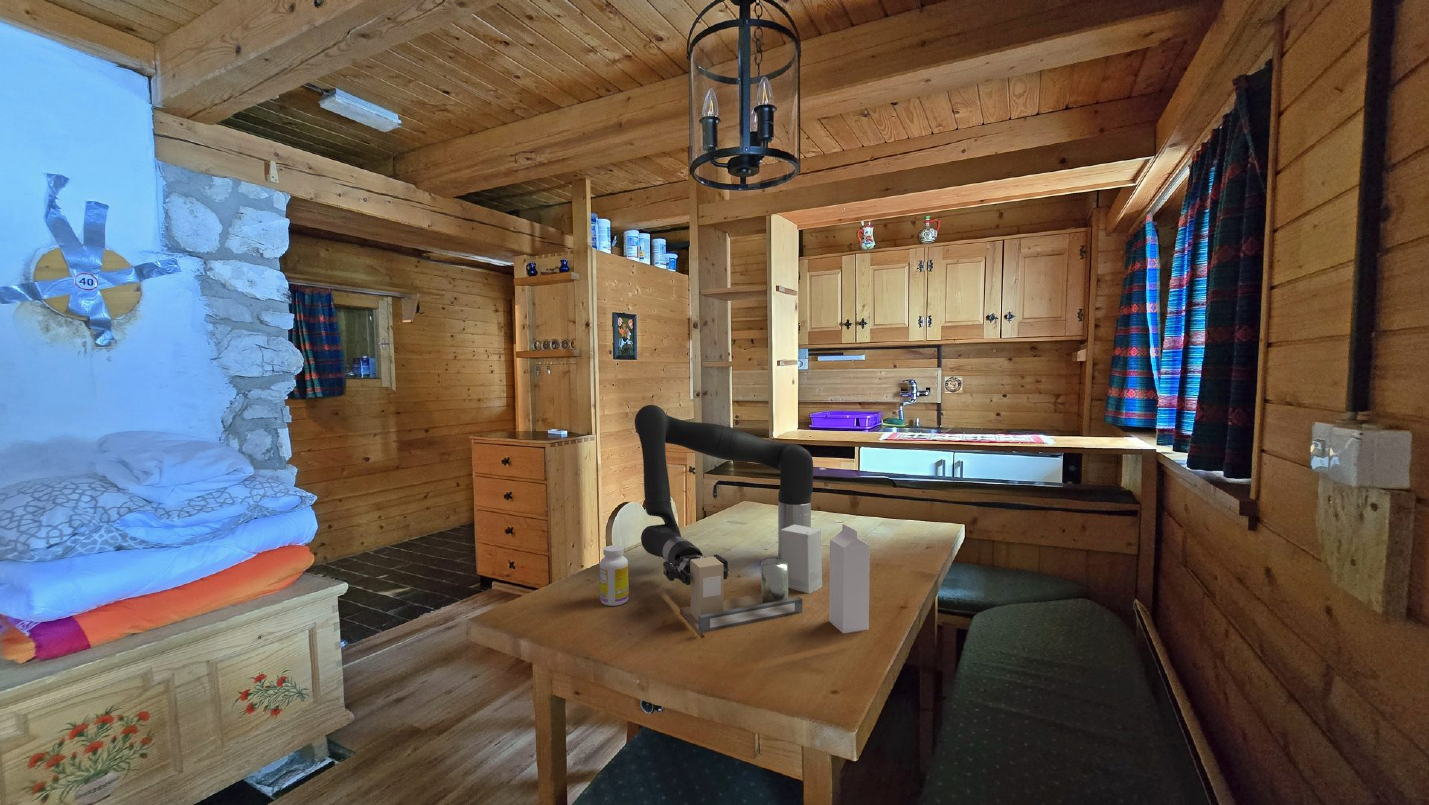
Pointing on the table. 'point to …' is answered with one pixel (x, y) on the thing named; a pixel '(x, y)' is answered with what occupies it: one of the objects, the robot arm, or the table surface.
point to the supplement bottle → (614, 576)
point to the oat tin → (774, 580)
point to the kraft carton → (706, 586)
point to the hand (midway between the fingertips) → (707, 577)
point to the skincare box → (802, 557)
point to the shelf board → (742, 612)
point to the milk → (849, 581)
